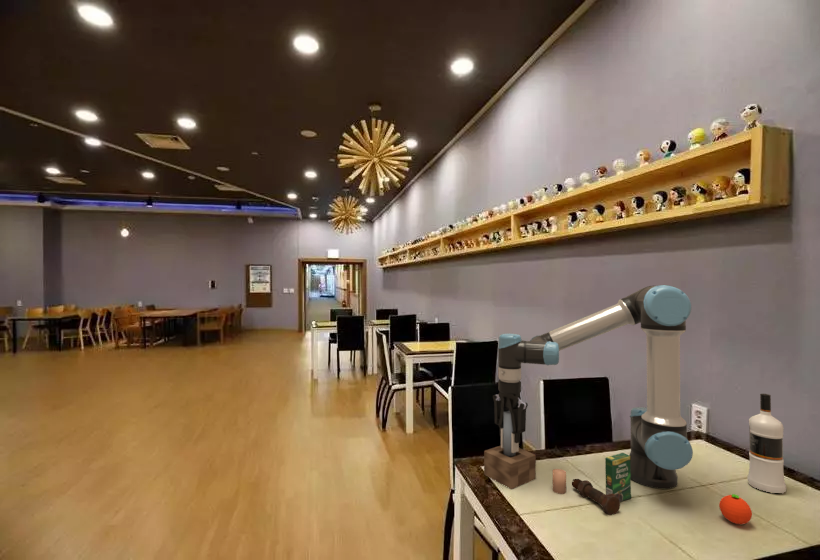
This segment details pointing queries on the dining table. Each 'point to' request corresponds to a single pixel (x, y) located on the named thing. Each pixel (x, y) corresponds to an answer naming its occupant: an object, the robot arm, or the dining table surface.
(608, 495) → the bolt
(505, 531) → the dining table surface
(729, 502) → the clementine
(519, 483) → the hole block
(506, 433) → the long dowel
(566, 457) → the dining table surface
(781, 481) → the vodka
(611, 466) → the coffee box
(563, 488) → the short dowel
